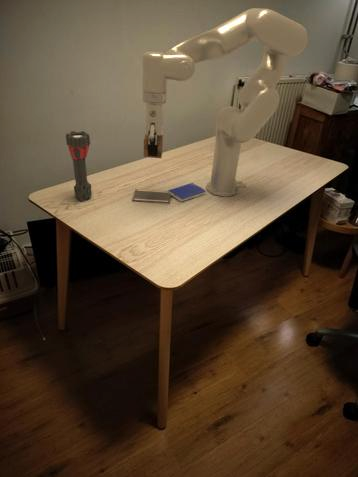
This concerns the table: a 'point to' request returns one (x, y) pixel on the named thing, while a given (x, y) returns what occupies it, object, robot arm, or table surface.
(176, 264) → the table surface
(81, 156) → the flashlight
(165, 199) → the mat
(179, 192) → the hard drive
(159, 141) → the cube
